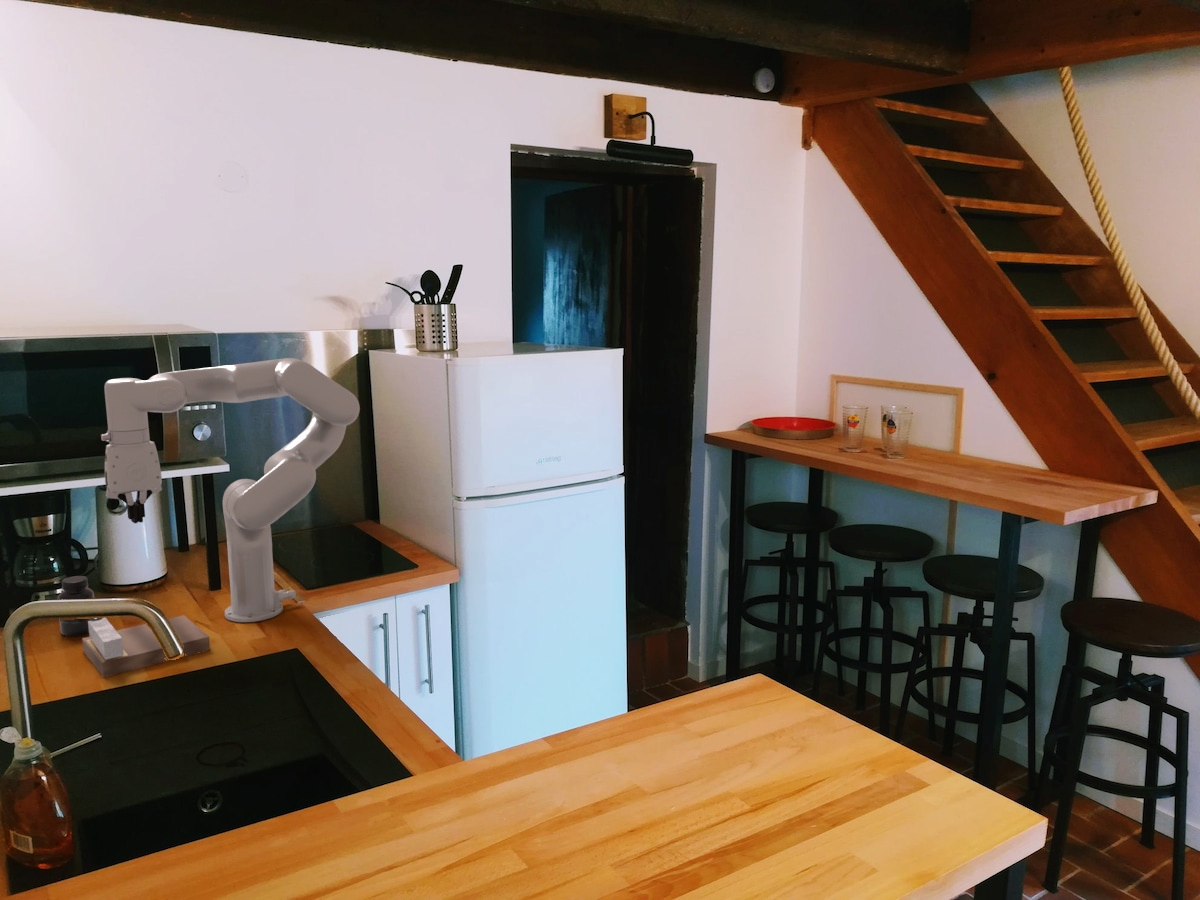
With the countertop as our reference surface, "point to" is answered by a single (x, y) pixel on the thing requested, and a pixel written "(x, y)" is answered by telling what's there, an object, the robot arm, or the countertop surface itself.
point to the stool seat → (145, 647)
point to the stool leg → (105, 638)
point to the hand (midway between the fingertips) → (137, 521)
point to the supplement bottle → (75, 590)
